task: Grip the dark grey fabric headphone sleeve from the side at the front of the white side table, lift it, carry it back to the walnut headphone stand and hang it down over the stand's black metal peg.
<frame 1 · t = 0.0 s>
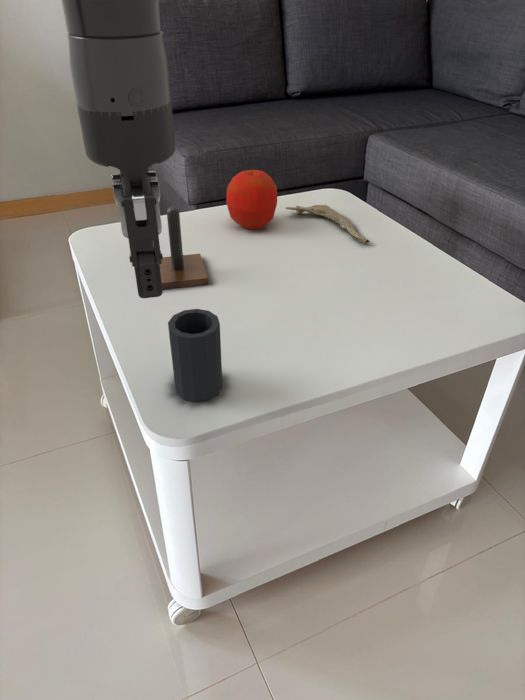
hand: (147, 273, 54), 20 cm above the table, tool pointing down, fingers open, 8 cm apart
headphone stand: (178, 274, 94), on the table
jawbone: (325, 229, 109), on the table
headphone sleeve: (198, 386, 71), on the table
apple: (252, 225, 111), on the table
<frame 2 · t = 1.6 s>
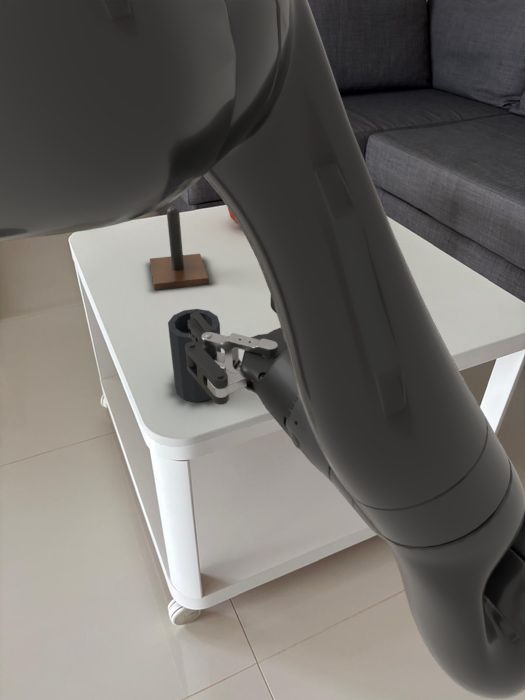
hand: (234, 308, 52), 18 cm above the table, tool horizontal, fingers open, 8 cm apart
nothing on the table moved.
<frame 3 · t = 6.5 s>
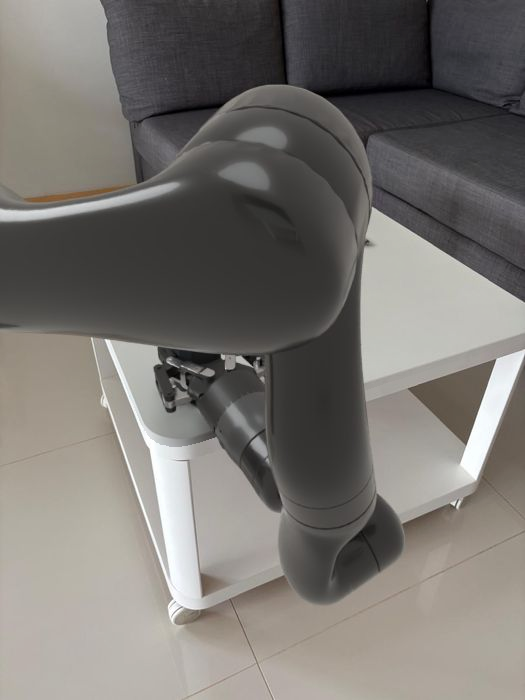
hand: (188, 339, 69), 6 cm above the table, tool horizontal, fingers closed on headphone sleeve, 6 cm apart
headphone sleeve: (198, 386, 71), on the table, touching gripper
everything else where it was.
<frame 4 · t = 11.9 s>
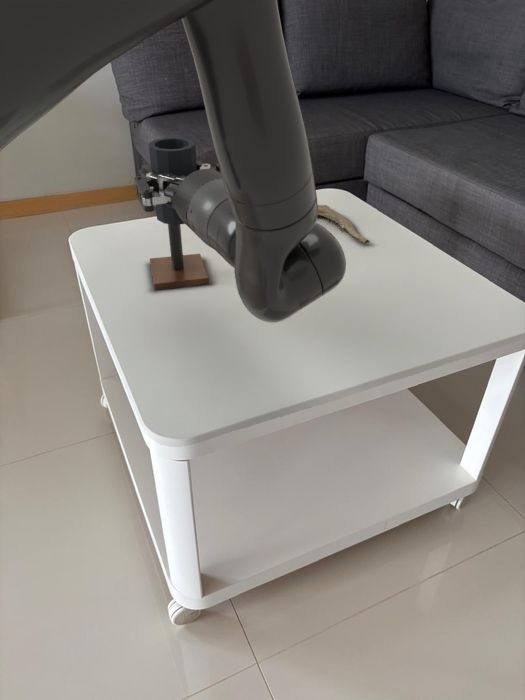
hand: (168, 168, 75), 21 cm above the table, tool horizontal, fingers closed on headphone sleeve, 6 cm apart
headphone sleeve: (178, 215, 77), point 15 cm above the table, touching gripper
everything else where it was.
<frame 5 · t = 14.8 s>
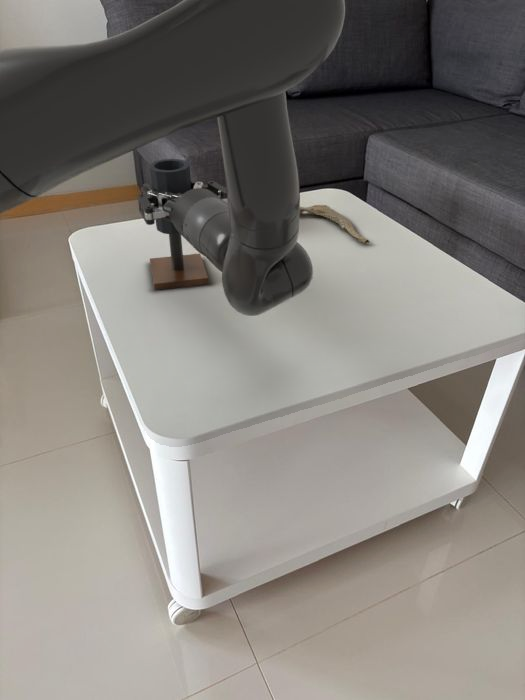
hand: (166, 186, 87), 15 cm above the table, tool horizontal, fingers closed on headphone sleeve, 6 cm apart
headphone sleeve: (175, 226, 89), point 9 cm above the table, touching gripper
everything else where it was.
when the fingers open (7 cm above the table, at t = 17.4 s): headphone sleeve stays where it is, resting on headphone stand.
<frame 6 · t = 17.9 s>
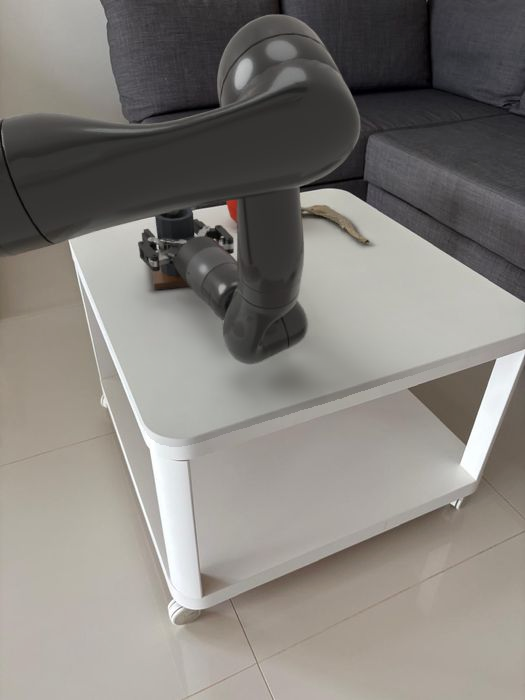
hand: (170, 229, 91), 8 cm above the table, tool horizontal, fingers open, 8 cm apart
headphone sleeve: (178, 267, 93), point 1 cm above the table, touching headphone stand
everything else where it was.
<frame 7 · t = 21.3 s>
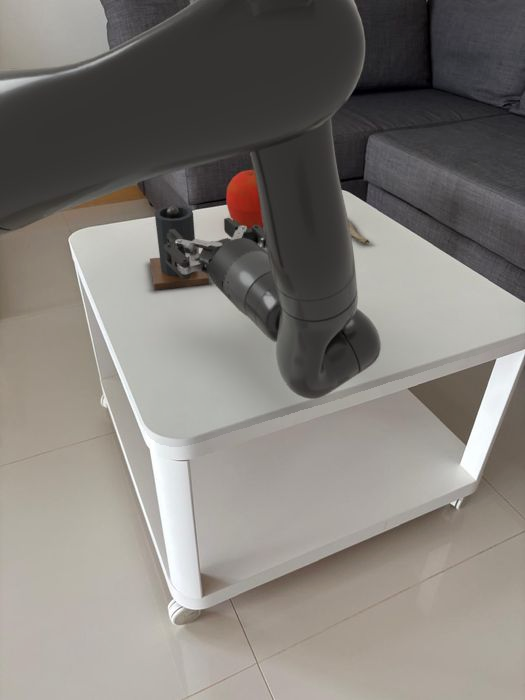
hand: (199, 229, 78), 13 cm above the table, tool horizontal, fingers open, 8 cm apart
nothing on the table moved.
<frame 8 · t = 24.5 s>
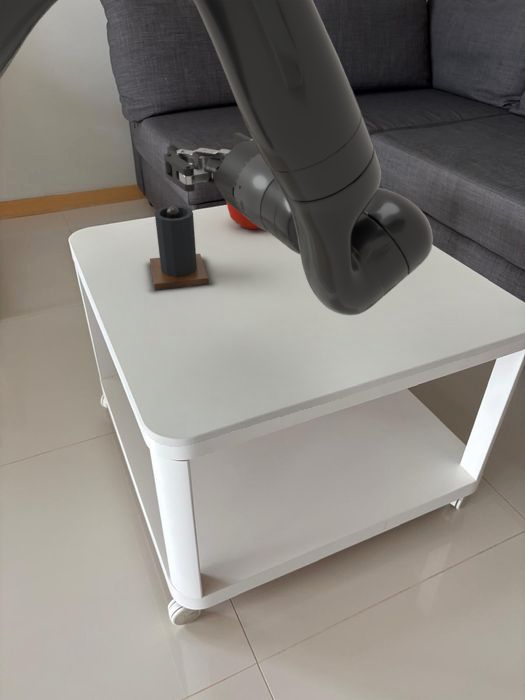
hand: (204, 145, 67), 26 cm above the table, tool horizontal, fingers open, 8 cm apart
nothing on the table moved.
at the end: headphone sleeve 0.1 cm off-centre on the headphone stand, point 1.2 cm above the headphone stand's base; headphone sleeve tilted 0°; the gripper is holding nothing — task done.
